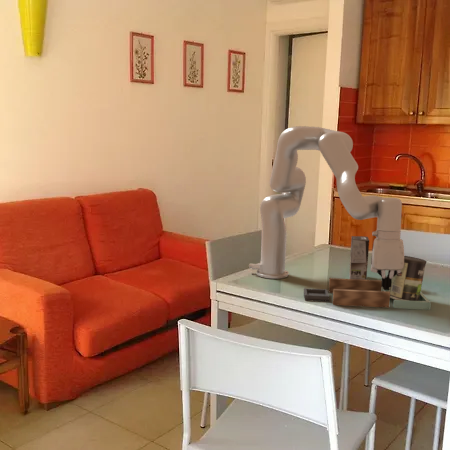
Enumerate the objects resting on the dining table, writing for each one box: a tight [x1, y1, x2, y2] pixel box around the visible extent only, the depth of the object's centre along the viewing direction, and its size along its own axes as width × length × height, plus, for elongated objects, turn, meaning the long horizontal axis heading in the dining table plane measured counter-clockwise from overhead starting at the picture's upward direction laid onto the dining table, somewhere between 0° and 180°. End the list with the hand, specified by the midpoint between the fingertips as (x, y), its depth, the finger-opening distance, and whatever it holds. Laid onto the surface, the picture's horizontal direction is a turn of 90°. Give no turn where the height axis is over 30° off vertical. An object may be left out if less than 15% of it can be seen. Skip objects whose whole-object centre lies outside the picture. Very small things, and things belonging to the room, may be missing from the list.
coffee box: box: [348, 235, 370, 280], centre depth 211 cm, size 9×6×16 cm
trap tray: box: [303, 287, 330, 302], centre depth 188 cm, size 8×8×2 cm
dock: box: [384, 290, 431, 311], centre depth 185 cm, size 12×15×2 cm
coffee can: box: [389, 255, 427, 301], centre depth 185 cm, size 10×10×14 cm
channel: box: [328, 277, 391, 309], centre depth 186 cm, size 18×15×5 cm
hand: (386, 289), depth 184 cm, fingers closed
